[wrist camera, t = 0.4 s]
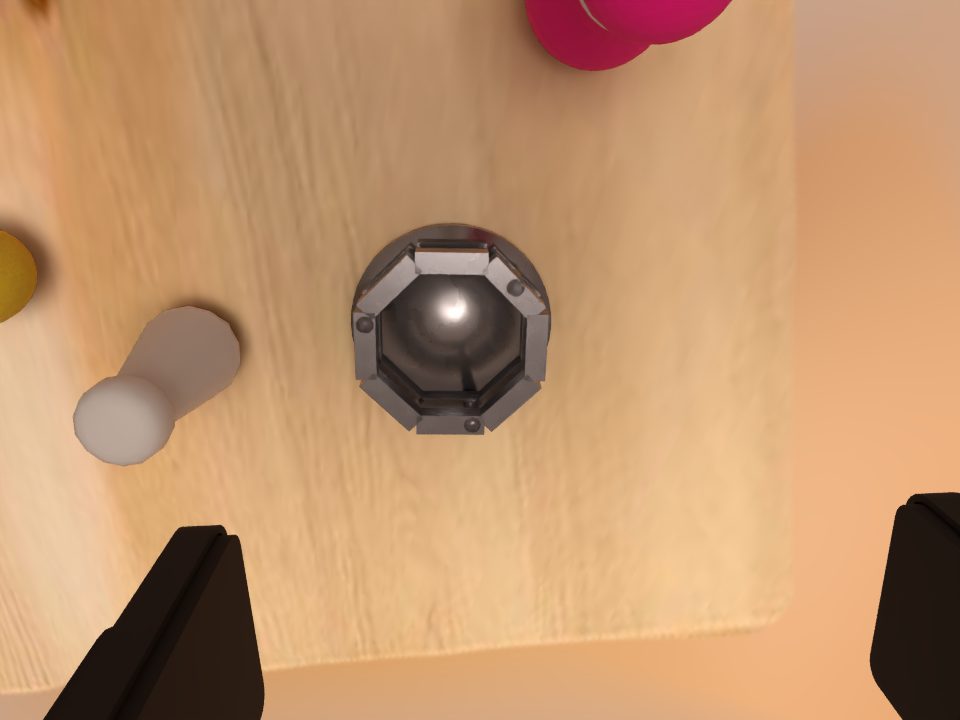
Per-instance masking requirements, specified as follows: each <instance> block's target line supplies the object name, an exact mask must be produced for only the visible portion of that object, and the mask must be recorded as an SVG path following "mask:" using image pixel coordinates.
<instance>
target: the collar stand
mask: <svg viewBox="0 0 960 720" xmlns="http://www.w3.org/2000/svg"><path fill="white" fill-rule="evenodd" d="M351 328H352V337H353V341H354V347H355V372H356V380H361V383H360V386H359V387H360V388H361V389H362V390H363V391H365V392H366V393H367V394H368V395H369V396H370V397H371V398H372V399H374V400H375V401H376V402H377V403H378V404H379V405H380V406H381V407H382V408H384V409H385V410H386V411H387V412H388V413H389V414H390V415H391V416H393V417H394V418H395V419H396V420H397V421H398V422H399V423H400V424H401V425H403V426H404V427H405V428H406V429H407V430H408V431H410V430H411V429H412V428H413V427H415V426H416V425H417V434H467V435H484V425H485V426H486V427H487V428H488V429H489V430H490V431H491V432H492V431H493V430H494V429H495V428H497V427H498V426H499V425H500V424H501V423H502V422H503V421H505V420H506V419H507V418H508V417H509V416H510V415H511V414H513V413H514V412H515V411H516V410H517V409H518V408H519V407H521V406H522V405H523V404H524V403H525V402H526V401H527V400H529V399H530V398H531V397H532V396H533V395H534V394H535V393H537V392H538V391H539V390H540V389H541V385H540V381H545V373H546V355H547V346H548V342H549V337H550V330H551V312H550V305H549V300H548V297H547V293H546V290H545V287H544V285H543V283H542V281H541V278H540V276H539V274H538V273H537V271H536V270H535V268H534V266H533V265H532V263H531V262H530V261H529V260H528V259H527V257H526V256H525V255H524V254H523V253H522V252H521V251H520V250H519V249H518V248H516V247H515V246H514V245H513V244H511V243H510V242H508V241H507V240H506V239H504V238H502V237H500V236H499V235H497V234H495V233H493V232H490V231H488V230H485V229H482V228H479V227H475V226H470V225H465V224H437V225H432V226H426V227H423V228H420V229H417V230H414V231H411V232H409V233H407V234H405V235H403V236H401V237H399V238H398V239H396V240H395V241H393V242H392V243H390V244H389V245H388V246H386V247H385V248H384V249H383V250H382V251H381V252H380V253H379V254H378V255H377V256H376V257H375V258H374V259H373V261H372V262H371V263H370V265H369V266H368V268H367V269H366V271H365V272H364V274H363V276H362V278H361V280H360V282H359V285H358V287H357V290H356V293H355V296H354V299H353V305H352V311H351Z"/></svg>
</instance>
